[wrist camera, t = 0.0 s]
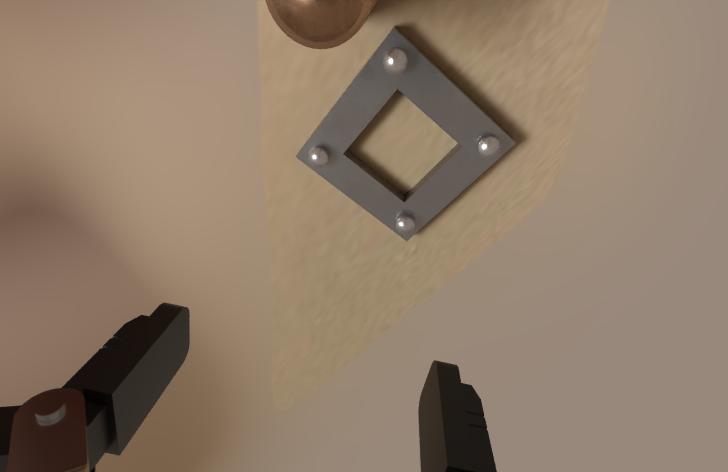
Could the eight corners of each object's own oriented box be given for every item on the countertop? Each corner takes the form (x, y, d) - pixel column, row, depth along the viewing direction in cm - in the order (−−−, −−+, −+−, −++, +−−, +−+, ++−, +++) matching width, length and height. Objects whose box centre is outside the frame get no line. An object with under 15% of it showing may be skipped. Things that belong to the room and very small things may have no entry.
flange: (394, 25, 27) (393, 29, 26) (512, 137, 31) (518, 147, 29) (299, 151, 33) (293, 160, 32) (407, 233, 37) (406, 246, 35)
